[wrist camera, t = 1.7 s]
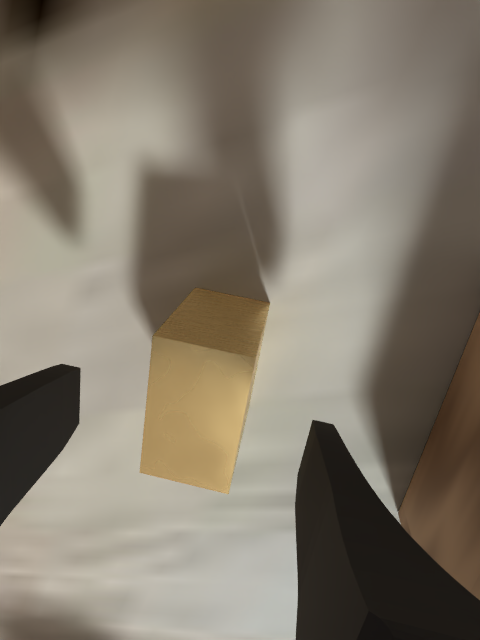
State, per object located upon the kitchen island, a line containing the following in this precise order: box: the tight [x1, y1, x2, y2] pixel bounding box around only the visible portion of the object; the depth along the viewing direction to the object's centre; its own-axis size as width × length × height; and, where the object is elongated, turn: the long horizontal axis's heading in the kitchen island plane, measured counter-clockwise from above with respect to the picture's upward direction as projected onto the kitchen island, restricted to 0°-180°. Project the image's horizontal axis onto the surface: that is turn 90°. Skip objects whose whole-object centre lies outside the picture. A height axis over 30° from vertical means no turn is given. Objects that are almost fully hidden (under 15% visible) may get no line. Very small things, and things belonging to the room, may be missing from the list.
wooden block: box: [140, 288, 270, 494], centre depth 15 cm, size 5×3×5 cm, turn 170°
